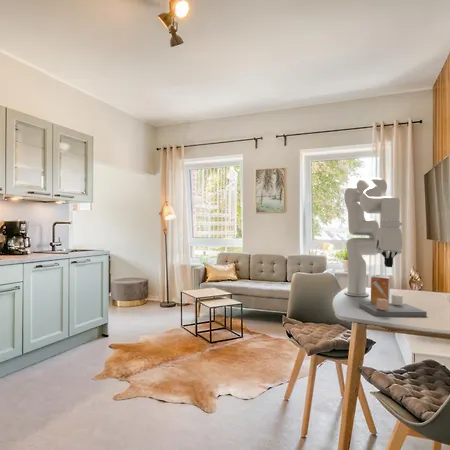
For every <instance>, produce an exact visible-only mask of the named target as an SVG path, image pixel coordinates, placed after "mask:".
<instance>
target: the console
mask: <svg viewBox="0 0 450 450" xmlns="http://www.w3.org/2000/svg"><path fill="white" fill-rule="evenodd" d="M358 305H359V307H358V308H359V309H361V310H364V311H365V312H367V313H369V314H371V315H373V316H375V317H427V313H428V312H427V311H426V310H424V309H420V308H419V307H415V306H413V305H410V304H408V303H402V305H395V304H393V303H390V302H389V303H388V310H380V309H378V308H377V303H371V302H368V303H367V302H365V303H364V302H359V304H358Z"/></svg>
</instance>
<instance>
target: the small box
mask: <svg viewBox="0 0 450 450" xmlns="http://www.w3.org/2000/svg"><path fill="white" fill-rule="evenodd" d="M370 279H371V281H370V303H377V299H380V298H381V299H386V300H388V303H390V295H391V294H390V290H391V289H390V288H391V287H390V283H391V282H390V281H391V277H390V276H381V275H372V276H370Z"/></svg>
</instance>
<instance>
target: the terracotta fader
mask: <svg viewBox="0 0 450 450" xmlns="http://www.w3.org/2000/svg"><path fill="white" fill-rule="evenodd" d="M377 308H378V309H380V310H388V300H386V299H381V298H380V299H377Z"/></svg>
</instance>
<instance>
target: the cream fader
mask: <svg viewBox="0 0 450 450" xmlns="http://www.w3.org/2000/svg"><path fill="white" fill-rule="evenodd" d="M391 303H393V304H395V305H402V304H403V295H400V294H396V293H394V294H391Z"/></svg>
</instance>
